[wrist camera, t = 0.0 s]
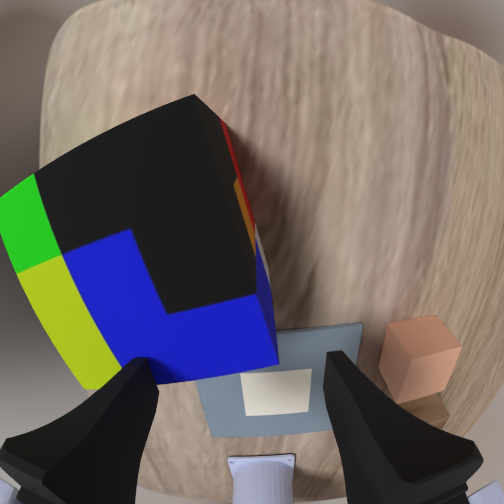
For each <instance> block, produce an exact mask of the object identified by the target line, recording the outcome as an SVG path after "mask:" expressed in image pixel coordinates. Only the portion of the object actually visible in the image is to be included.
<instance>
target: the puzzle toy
mask: <svg viewBox="0 0 504 504" xmlns="http://www.w3.org/2000/svg"><path fill="white" fill-rule="evenodd" d="M0 233H1V236H2V238H3V242H4V244H5V247H6V249H7V252H8V254H9V257H10V259H11V262H12V264H13V267H14V269H15V271H16V274H17V276H18V278H19V280H20V282H21V285H22V287H23V289H24V291H25V293H26V295H27V297H28V299H29V301H30V303H31V305H32V307H33V309H34V311H35V312H36V314H37V316H38V318H39V320H40V322H41V323H42V325H43V327H44V329H45V330H46V332H47V334H48V335H49V337H50V339H51V341H52V342H53V344H54V345H55V347H56V348H57V350H58V352H59V353H60V355H61V356H62V358H63V359H64V361H65V362H66V364H67V365H68V367H69V368H70V370H71V371H72V373H73V374H74V375H75V377H76V378H77V380H78V381H79V382H80V384H81V385H82V386H83V388H84V389H100V388H101V387H102V386H103V385H104V384H106V383H107V382H108V381H109V380H110V379H111V378H112V377H113V376H114V375H115V374H116V373H117V372H119V371H120V370H121V369H122V368H123V367H124V366H125V365H126V364H127V363H128V362H129V361H130V360H132V359H133V358H147V360H148V363H149V366H150V369H151V372H152V374H153V377H154V380H155V382H156V385H160V384H169V383H178V382H185V381H193V380H200V379H206V378H213V377H219V376H225V375H230V374H236V373H241V372H246V371H251V370H256V369H261V368H266V367H270V366H275V365H279V364H280V362H279V353H278V345H277V336H276V327H275V319H274V311H273V302H272V294H271V286H270V278H269V270H268V265H267V261H266V258H265V254H264V251H263V248H262V244H261V241H260V237H259V234H258V231H257V227H256V224H255V220H254V217H253V214H252V210H251V207H250V204H249V200H248V197H247V194H246V190H245V187H244V184H243V180H242V177H241V174H240V170H239V167H238V164H237V160H236V157H235V154H234V150H233V147H232V144H231V141H230V137H229V134H228V131H227V128H226V124H225V122H224V121H223V120H221V119H220V118H219V117H218V116H217V115H216V114H215V113H214V112H213V111H212V110H211V109H210V108H209V107H208V106H207V105H206V104H205V103H204V102H202V101H201V100H200V99H199V98H198V97H197V96H196V95H195V94H193V95H190V96H187V97H184V98H182V99H179V100H176V101H174V102H171V103H169V104H166V105H163V106H161V107H158V108H156V109H154V110H151V111H149V112H146V113H144V114H142V115H140V116H137V117H135V118H133V119H131V120H128V121H126V122H124V123H122V124H120V125H118V126H116V127H114V128H112V129H110V130H108V131H106V132H104V133H102V134H100V135H98V136H96V137H94V138H92V139H90V140H88V141H87V142H85V143H83V144H81V145H79V146H78V147H76V148H74V149H72V150H71V151H69V152H67V153H65V154H64V155H62V156H60V157H59V158H57V159H56V160H54V161H52V162H51V163H49V164H48V165H46V166H44V167H43V168H41V169H40V170H38V171H37V172H35V173H34V174H32V175H31V176H29V177H28V178H27V179H25V180H24V181H22V182H21V183H19V184H18V185H17V186H16V187H14V188H13V189H11V190H10V191H9V192H7V193H6V194H5V195H3V196H2V197H1V198H0Z"/></svg>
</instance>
